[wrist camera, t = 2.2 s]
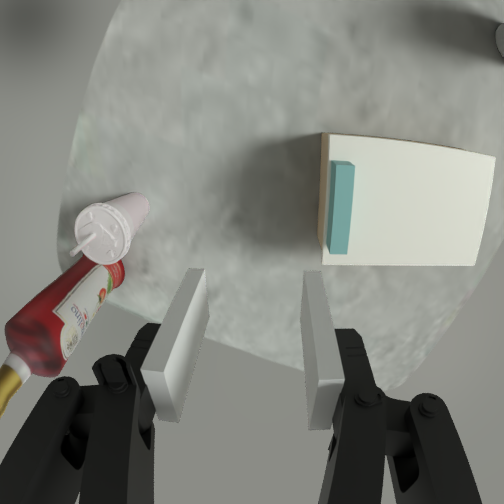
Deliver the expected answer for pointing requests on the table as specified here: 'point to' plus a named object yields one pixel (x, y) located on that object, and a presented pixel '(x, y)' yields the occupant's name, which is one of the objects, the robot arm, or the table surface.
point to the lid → (403, 203)
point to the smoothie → (109, 227)
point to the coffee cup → (500, 39)
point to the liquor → (55, 323)
